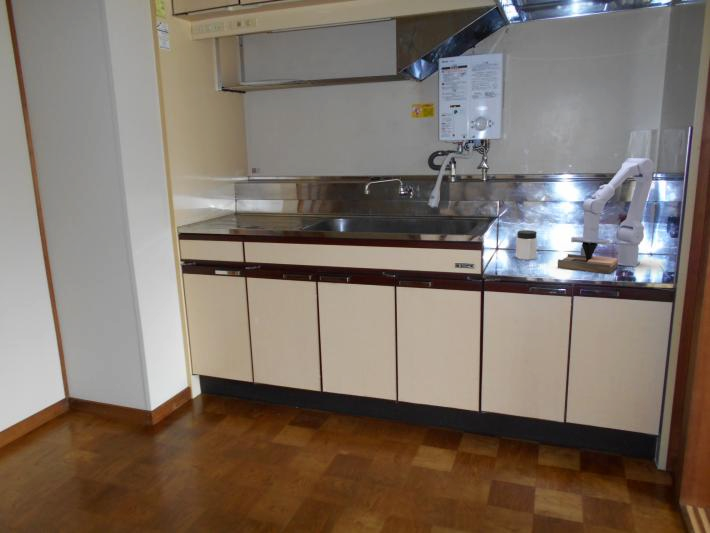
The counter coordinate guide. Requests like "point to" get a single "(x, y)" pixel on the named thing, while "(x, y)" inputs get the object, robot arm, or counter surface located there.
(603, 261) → the lid
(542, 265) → the counter surface
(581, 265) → the board
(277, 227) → the counter surface
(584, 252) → the block
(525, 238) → the jar
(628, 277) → the counter surface
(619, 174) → the robot arm
